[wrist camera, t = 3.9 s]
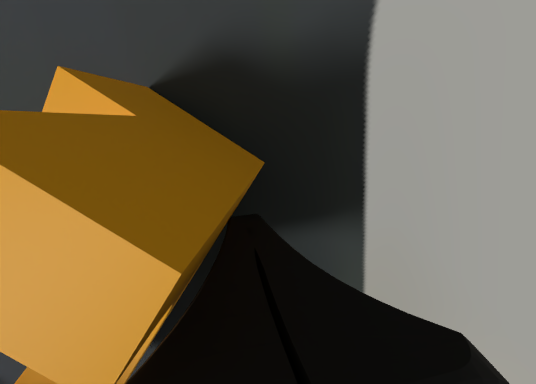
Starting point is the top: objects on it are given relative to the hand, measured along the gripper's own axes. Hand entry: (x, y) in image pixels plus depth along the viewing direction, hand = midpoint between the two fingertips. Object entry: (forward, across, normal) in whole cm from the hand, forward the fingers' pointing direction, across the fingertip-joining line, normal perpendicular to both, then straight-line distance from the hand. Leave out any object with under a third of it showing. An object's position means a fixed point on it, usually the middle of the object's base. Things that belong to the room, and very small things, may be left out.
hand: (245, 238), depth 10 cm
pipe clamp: (+1, +4, +1) cm, 4 cm away
